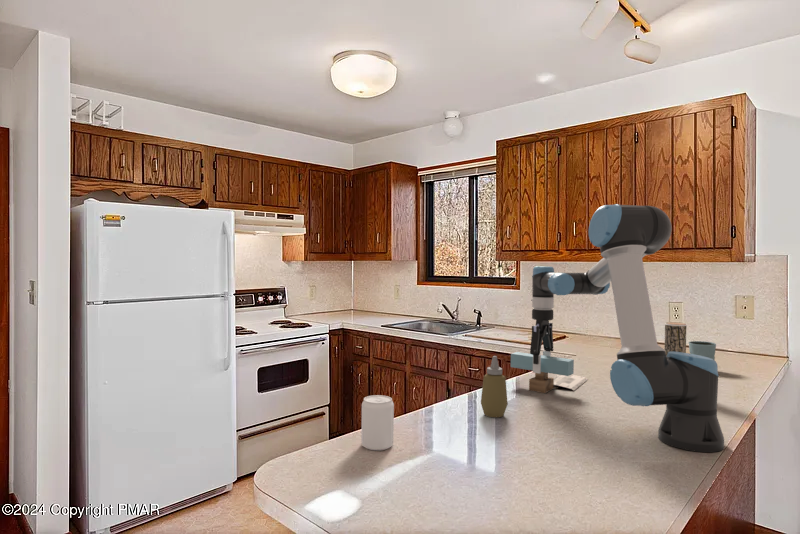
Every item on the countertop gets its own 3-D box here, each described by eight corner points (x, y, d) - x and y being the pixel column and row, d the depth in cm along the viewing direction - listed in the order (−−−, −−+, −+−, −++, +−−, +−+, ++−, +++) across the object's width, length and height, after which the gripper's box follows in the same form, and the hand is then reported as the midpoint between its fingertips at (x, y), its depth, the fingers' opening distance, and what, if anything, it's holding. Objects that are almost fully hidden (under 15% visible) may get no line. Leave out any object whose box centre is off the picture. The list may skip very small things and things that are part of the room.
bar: (568, 376, 181) (568, 361, 181) (510, 367, 195) (510, 353, 195) (573, 373, 185) (573, 359, 185) (516, 364, 199) (516, 351, 199)
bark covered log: (687, 396, 183) (689, 325, 183) (666, 394, 184) (668, 324, 184) (681, 391, 190) (682, 322, 189) (661, 390, 191) (662, 322, 191)
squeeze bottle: (487, 420, 154) (488, 359, 153) (476, 412, 162) (477, 354, 161) (512, 418, 156) (513, 358, 156) (500, 410, 164) (500, 353, 163)
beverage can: (376, 438, 138) (376, 392, 138) (399, 445, 133) (400, 398, 132) (354, 446, 132) (355, 399, 131) (378, 454, 126) (379, 405, 126)
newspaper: (556, 377, 213) (557, 371, 213) (587, 384, 206) (588, 378, 206) (539, 388, 194) (540, 381, 194) (572, 396, 187) (573, 389, 187)
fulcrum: (545, 393, 185) (545, 373, 185) (529, 390, 189) (529, 371, 189) (553, 388, 192) (553, 369, 191) (537, 386, 195) (538, 367, 195)
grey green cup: (720, 372, 223) (721, 344, 222) (703, 373, 219) (704, 345, 219) (699, 367, 232) (700, 340, 232) (682, 368, 228) (683, 341, 228)
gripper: (544, 305, 200) (543, 364, 201) (520, 310, 183) (519, 374, 184) (563, 307, 196) (562, 367, 196) (541, 311, 179) (540, 377, 179)
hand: (541, 370), depth 190 cm, fingers open, 8 cm apart
